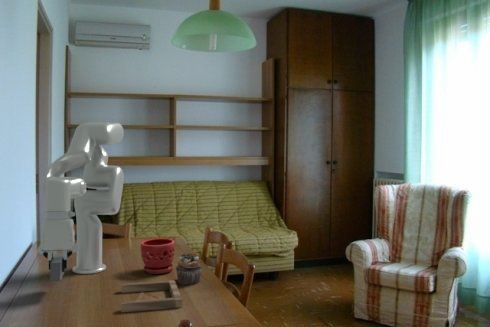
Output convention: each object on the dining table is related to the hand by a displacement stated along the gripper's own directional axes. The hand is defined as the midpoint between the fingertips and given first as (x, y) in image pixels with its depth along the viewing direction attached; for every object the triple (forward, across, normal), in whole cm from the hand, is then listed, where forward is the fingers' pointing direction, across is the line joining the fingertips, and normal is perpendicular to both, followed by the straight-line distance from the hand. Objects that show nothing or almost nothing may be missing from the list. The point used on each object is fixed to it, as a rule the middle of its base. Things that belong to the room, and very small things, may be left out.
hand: (57, 270), depth 146 cm
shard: (+8, -27, +14) cm, 32 cm away
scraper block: (+2, 0, 0) cm, 2 cm away
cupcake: (+7, -44, -4) cm, 45 cm away
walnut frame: (+8, -28, +12) cm, 32 cm away
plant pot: (+7, -34, -20) cm, 40 cm away
